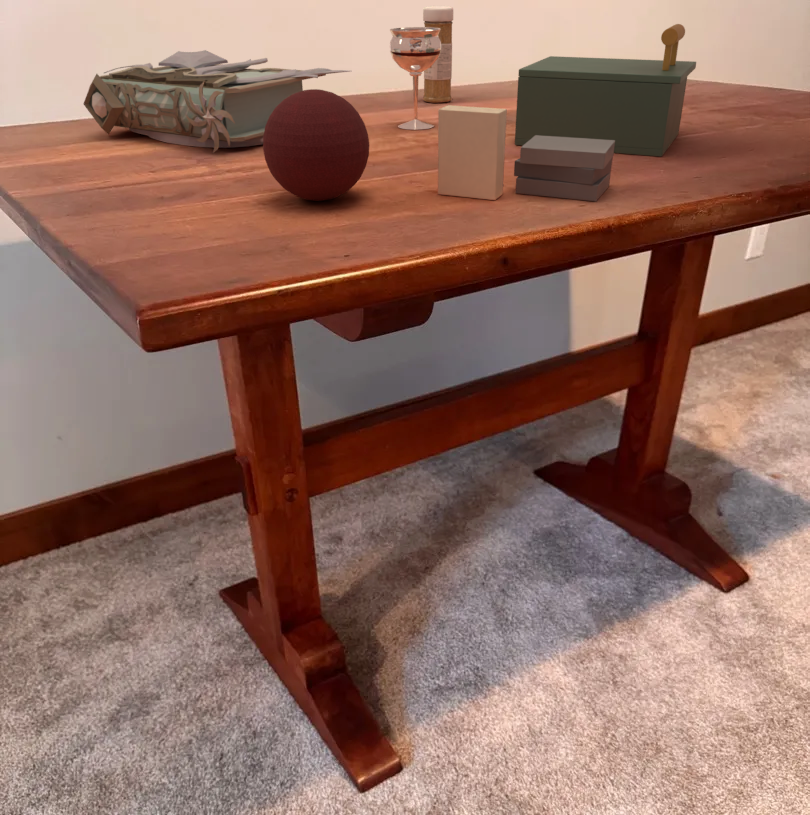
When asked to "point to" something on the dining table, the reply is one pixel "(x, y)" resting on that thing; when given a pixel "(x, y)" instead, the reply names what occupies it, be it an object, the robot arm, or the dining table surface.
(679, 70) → the lid
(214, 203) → the dining table surface
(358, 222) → the dining table surface
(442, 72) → the sprinkles bottle
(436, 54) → the wineglass
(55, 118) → the dining table surface
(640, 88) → the chest
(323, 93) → the decorative ball
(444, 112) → the cream book
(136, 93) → the ornate book
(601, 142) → the grey books
